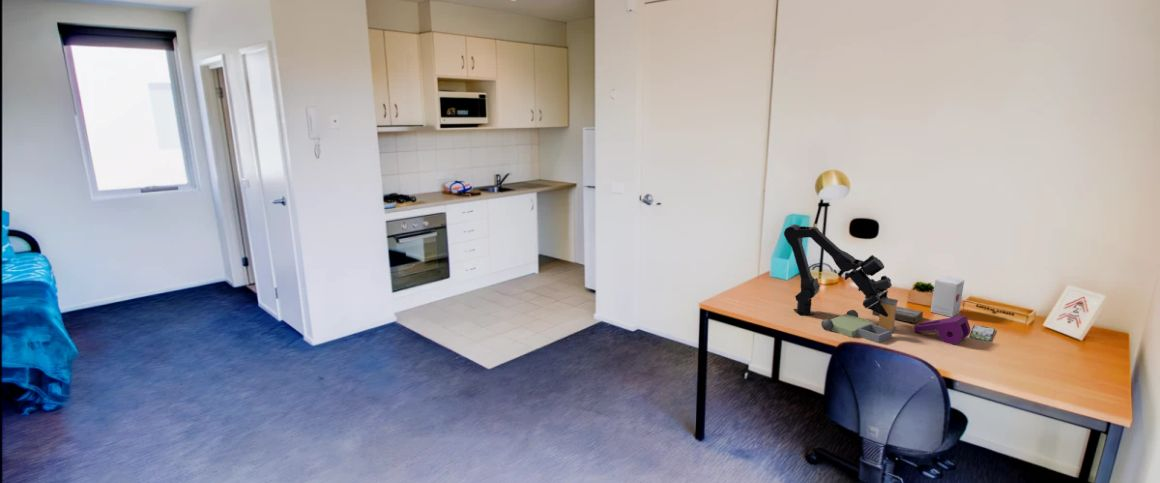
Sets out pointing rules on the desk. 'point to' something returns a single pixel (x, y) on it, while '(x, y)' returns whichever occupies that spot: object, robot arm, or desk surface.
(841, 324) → the green slab with frame
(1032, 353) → the desk surface
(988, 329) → the mottled grey green block
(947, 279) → the supplement box
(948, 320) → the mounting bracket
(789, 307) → the desk surface
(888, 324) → the tan rectangular column
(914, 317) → the box
